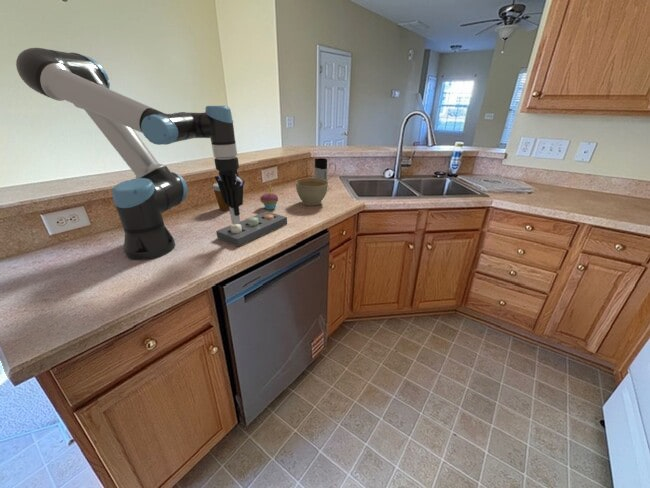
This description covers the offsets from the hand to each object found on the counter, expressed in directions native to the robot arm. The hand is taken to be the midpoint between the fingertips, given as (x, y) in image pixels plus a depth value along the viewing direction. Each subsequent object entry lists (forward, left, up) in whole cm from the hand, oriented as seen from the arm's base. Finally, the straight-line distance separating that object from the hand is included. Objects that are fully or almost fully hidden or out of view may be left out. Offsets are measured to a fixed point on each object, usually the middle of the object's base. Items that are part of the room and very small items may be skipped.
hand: (236, 222), depth 105 cm
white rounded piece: (0, 0, -5) cm, 5 cm away
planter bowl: (+49, +2, -7) cm, 50 cm away
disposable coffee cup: (+18, +30, -7) cm, 36 cm away
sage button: (+8, 0, -5) cm, 10 cm away
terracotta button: (+17, 0, -6) cm, 18 cm away
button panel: (+8, 0, -6) cm, 10 cm away
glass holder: (+82, +17, -7) cm, 84 cm away
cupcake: (+31, +14, -7) cm, 35 cm away
